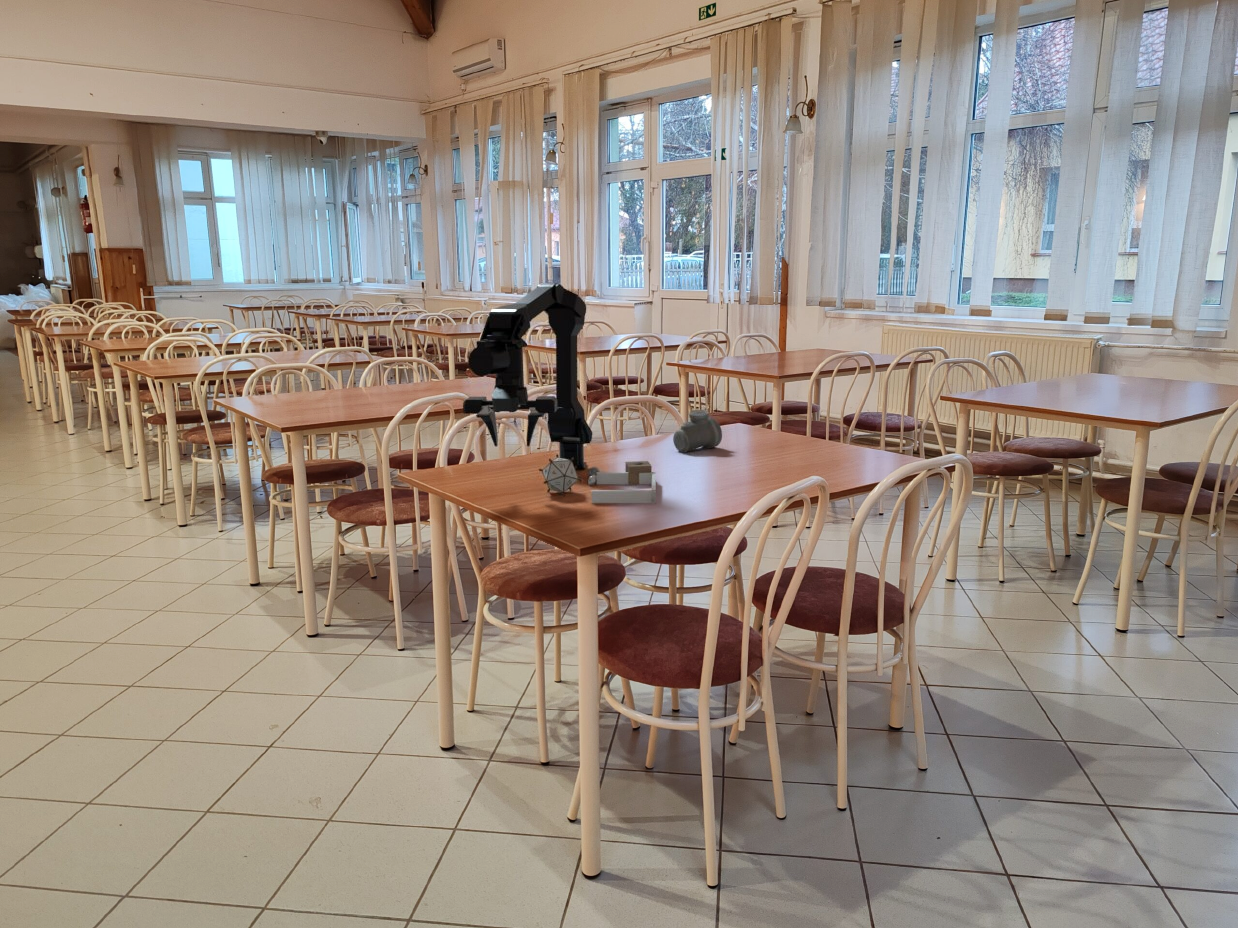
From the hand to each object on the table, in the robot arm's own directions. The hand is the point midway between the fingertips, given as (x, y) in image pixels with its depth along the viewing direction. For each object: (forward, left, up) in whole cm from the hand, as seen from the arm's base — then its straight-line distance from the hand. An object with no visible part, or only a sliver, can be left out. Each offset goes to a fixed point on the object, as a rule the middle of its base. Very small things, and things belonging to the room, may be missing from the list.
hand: (512, 446), depth 180 cm
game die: (0, +10, -10) cm, 14 cm away
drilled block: (-10, +26, -10) cm, 29 cm away
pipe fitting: (-45, +40, -10) cm, 61 cm away
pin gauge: (-10, +16, -10) cm, 21 cm away
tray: (0, +23, -10) cm, 25 cm away
